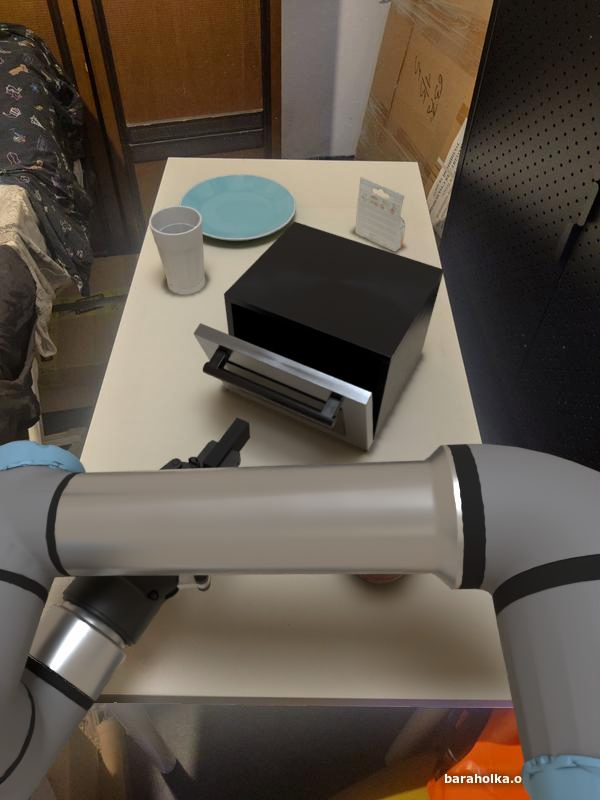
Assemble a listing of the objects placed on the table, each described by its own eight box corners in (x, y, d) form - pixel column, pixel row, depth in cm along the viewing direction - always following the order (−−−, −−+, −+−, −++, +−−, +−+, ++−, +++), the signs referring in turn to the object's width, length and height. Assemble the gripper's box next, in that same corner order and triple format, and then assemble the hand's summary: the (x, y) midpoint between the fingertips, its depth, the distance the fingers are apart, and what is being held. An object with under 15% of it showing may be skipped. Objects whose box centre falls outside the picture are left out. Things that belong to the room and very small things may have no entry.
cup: (160, 272, 94) (146, 209, 85) (206, 265, 96) (197, 202, 87) (165, 301, 89) (151, 238, 80) (213, 293, 91) (205, 230, 82)
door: (357, 473, 71) (352, 431, 56) (215, 408, 77) (178, 356, 63) (373, 441, 72) (372, 392, 58) (232, 380, 78) (200, 322, 64)
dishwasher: (373, 441, 72) (391, 357, 60) (233, 380, 79) (223, 293, 66) (420, 355, 83) (444, 269, 70) (293, 308, 89) (294, 221, 77)
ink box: (361, 227, 104) (368, 170, 95) (402, 247, 100) (413, 188, 91) (352, 234, 103) (358, 176, 94) (393, 254, 99) (404, 195, 90)
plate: (313, 236, 102) (314, 223, 100) (197, 261, 96) (195, 248, 94) (273, 178, 115) (272, 165, 113) (168, 198, 109) (166, 184, 107)
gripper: (50, 602, 51) (198, 424, 64) (164, 676, 47) (296, 470, 60) (20, 571, 45) (189, 382, 58) (148, 652, 41) (297, 430, 54)
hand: (243, 427), depth 59 cm, fingers closed
